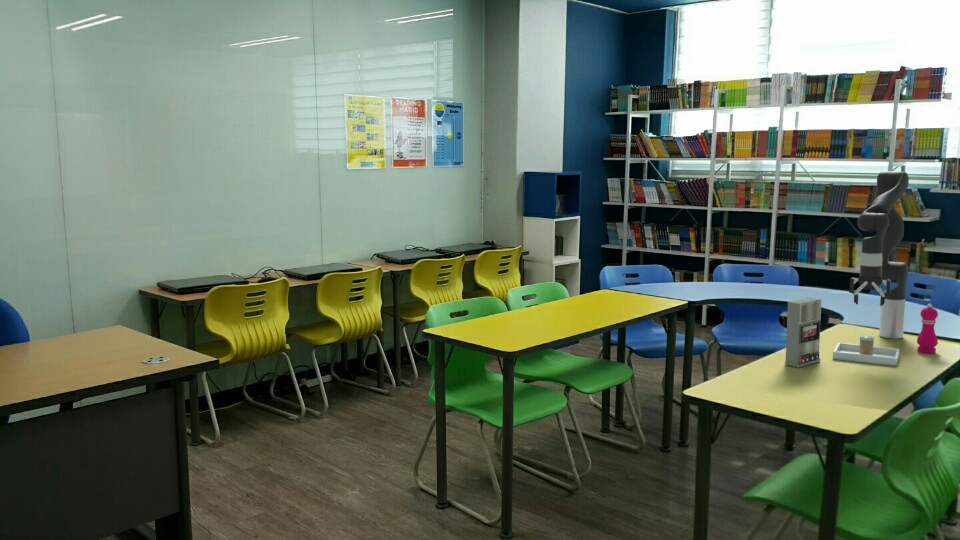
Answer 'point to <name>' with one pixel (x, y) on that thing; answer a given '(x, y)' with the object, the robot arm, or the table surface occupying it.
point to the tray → (879, 355)
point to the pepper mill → (928, 331)
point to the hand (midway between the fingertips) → (868, 304)
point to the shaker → (866, 345)
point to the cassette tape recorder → (803, 332)
